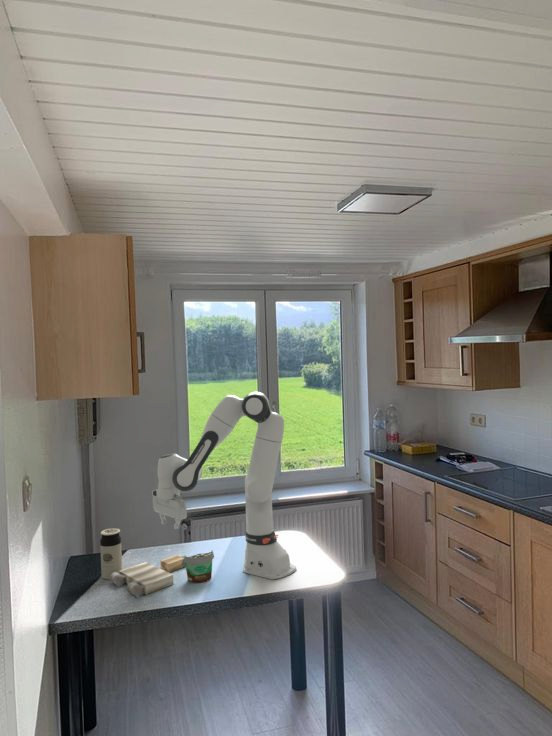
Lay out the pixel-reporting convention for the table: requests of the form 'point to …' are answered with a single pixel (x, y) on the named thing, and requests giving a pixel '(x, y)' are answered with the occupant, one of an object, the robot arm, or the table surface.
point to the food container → (199, 567)
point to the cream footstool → (142, 578)
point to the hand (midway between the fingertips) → (170, 526)
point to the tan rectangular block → (173, 563)
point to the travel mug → (110, 552)
